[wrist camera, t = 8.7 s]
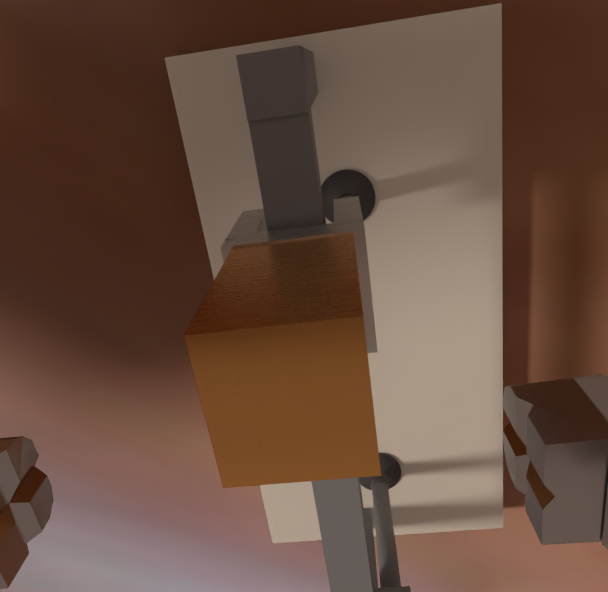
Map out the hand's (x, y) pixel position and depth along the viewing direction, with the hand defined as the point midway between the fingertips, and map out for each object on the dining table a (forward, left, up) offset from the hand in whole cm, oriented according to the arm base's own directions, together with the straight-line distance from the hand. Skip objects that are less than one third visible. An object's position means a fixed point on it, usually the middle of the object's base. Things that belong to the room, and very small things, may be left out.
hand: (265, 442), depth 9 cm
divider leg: (0, 0, -17) cm, 17 cm away
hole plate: (+2, -7, -19) cm, 20 cm away
